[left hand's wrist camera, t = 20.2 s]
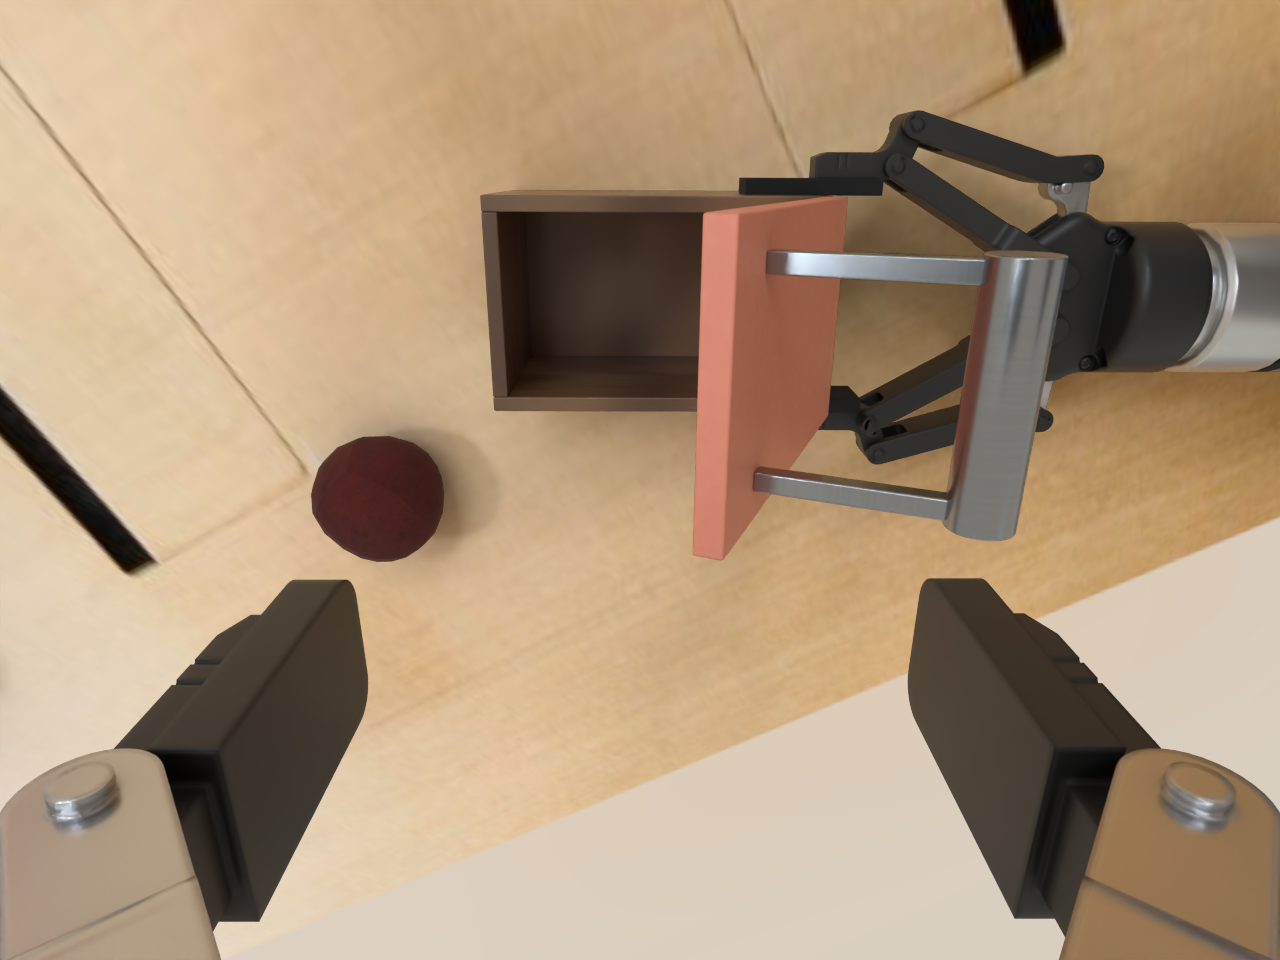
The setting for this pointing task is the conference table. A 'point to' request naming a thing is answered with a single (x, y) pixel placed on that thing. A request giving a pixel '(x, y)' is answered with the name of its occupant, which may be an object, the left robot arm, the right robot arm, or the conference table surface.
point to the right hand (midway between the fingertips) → (737, 297)
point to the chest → (598, 296)
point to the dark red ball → (378, 497)
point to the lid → (803, 358)
